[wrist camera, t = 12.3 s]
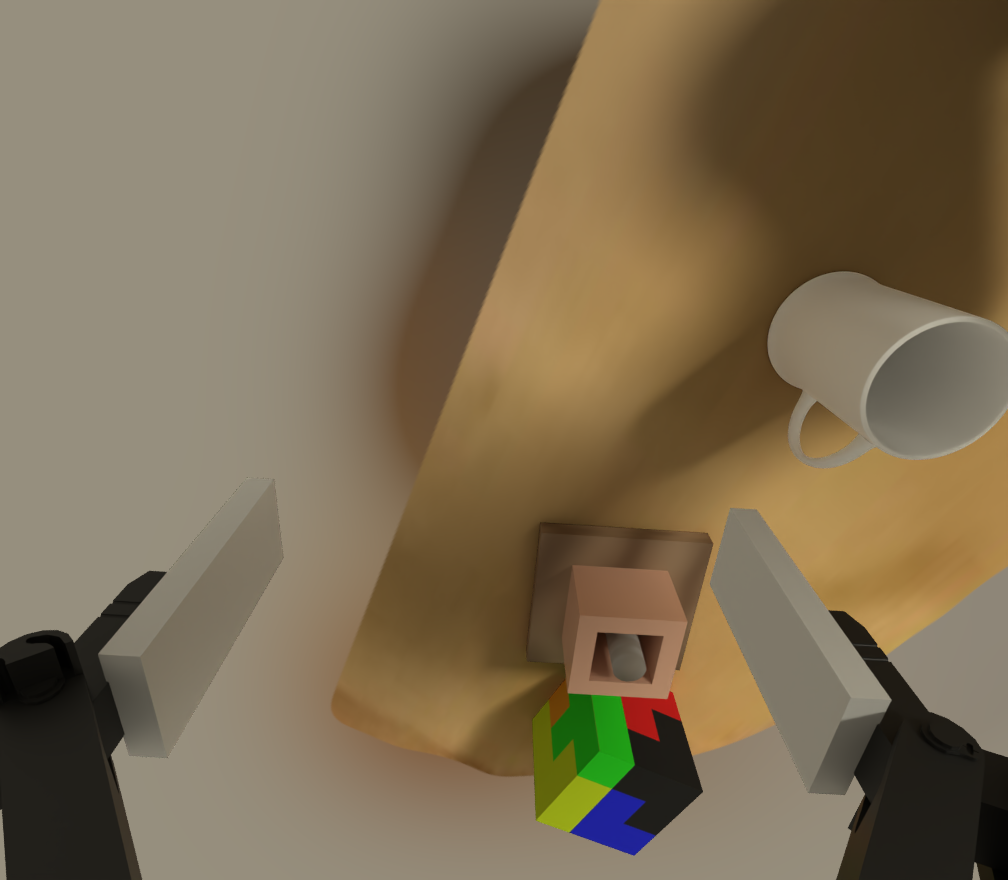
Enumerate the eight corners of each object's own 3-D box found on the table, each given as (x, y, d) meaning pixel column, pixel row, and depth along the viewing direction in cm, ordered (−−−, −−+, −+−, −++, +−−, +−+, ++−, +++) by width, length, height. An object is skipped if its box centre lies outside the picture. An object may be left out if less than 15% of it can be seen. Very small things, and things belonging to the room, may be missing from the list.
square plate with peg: (707, 533, 49) (744, 602, 41) (675, 657, 55) (702, 738, 47) (540, 522, 48) (545, 590, 41) (526, 648, 54) (528, 728, 47)
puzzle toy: (615, 752, 61) (634, 855, 52) (532, 719, 59) (535, 820, 50) (672, 691, 57) (703, 791, 48) (584, 654, 55) (599, 751, 46)
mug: (791, 442, 45) (880, 530, 34) (709, 382, 43) (776, 456, 32) (916, 317, 41) (1063, 372, 30) (832, 245, 39) (956, 276, 28)
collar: (668, 570, 49) (687, 621, 43) (651, 643, 52) (667, 699, 47) (572, 564, 48) (580, 615, 43) (561, 637, 52) (567, 693, 46)
